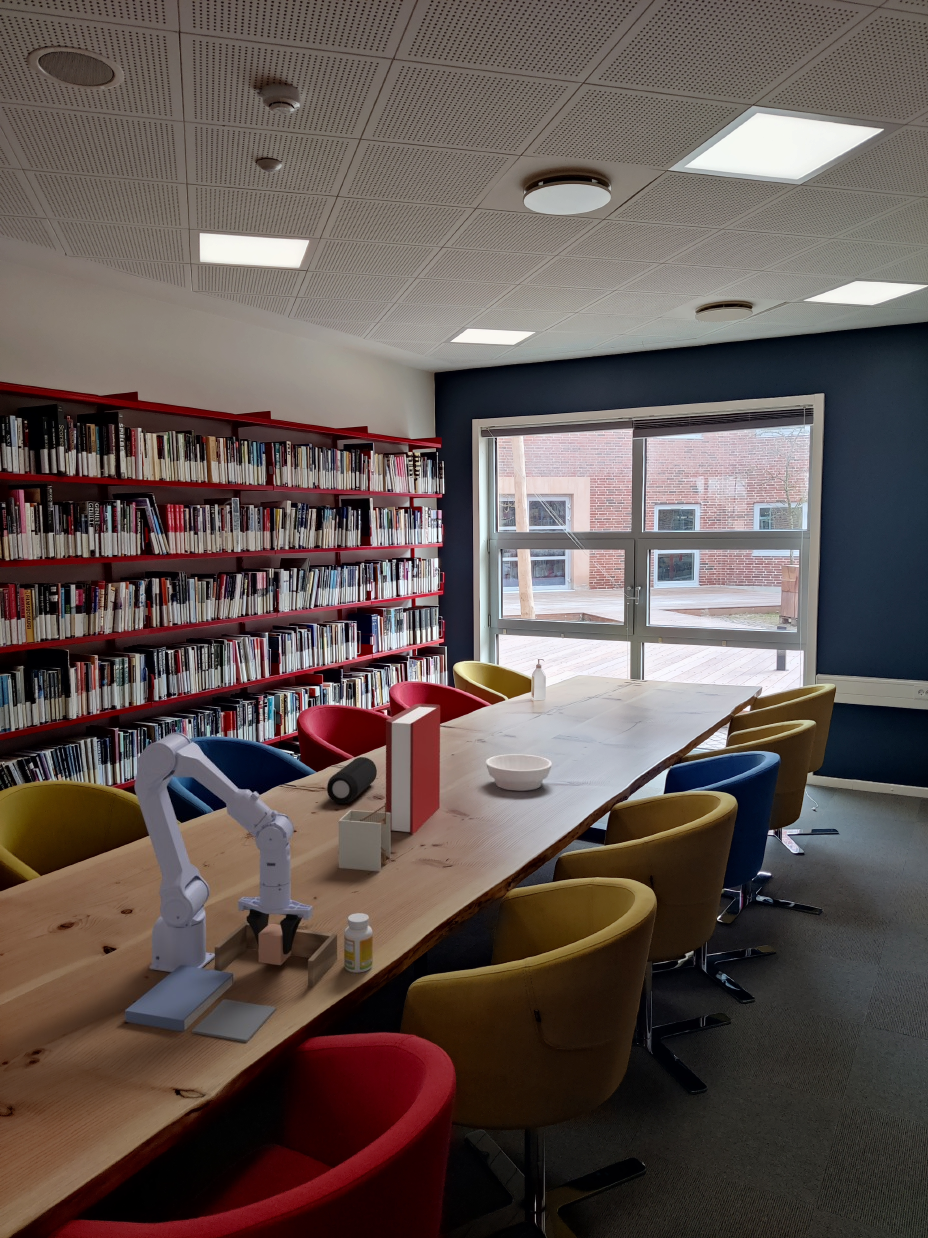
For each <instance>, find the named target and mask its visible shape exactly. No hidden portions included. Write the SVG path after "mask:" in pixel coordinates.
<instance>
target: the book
mask: <svg viewBox="0 0 928 1238" xmlns="http://www.w3.org/2000/svg"><path fill="white" fill-rule="evenodd" d="M440 760H441V705H440V704H432V703H416V704H413V705H412V706H410V707H408V708H406V709H404V710H402V711H401V712H399V713H397V714H395V715H394V716H391V717H390V718H388V719H386V720H385V802H386V813H390V832H391V831H397V832H405V833H410V834H411V835H412V836H414V835H415V833H416V832H418V830H419V829H421V827H422V826H423V825H424V824H425V823H426V822H427V821H428V820H429V819H430V818H431V817H432V816H433V815H434V814H435V813H436V812H438V810H439V809H440V800H441V799H440V794H441V793H440V788H441V787H440V786H441V785H440V783H441V781H440V780H441V778H440V777H441V775H440V774H441V761H440Z"/></svg>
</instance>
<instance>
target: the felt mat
mask: <svg viewBox="0 0 928 1238" xmlns="http://www.w3.org/2000/svg"><path fill="white" fill-rule="evenodd" d="M276 1011H277V1007H275V1006H269V1005H263V1004H258V1003H257V1004H256V1003H252V1002H251V1003H250V1002H243V1001H238V1000H232V999H226V998H225V999H223V1000H222V1001H221V1002H219V1004H218V1005H217V1006H216V1007H215V1008H214V1009H212V1011H210V1013H209V1014H208V1015H206V1016H205V1018H203V1019H202V1020H201V1021H200V1022H199V1023H198V1024H197V1025H196V1026H195V1027H194V1028H193V1029H192V1030H191V1031H192V1034H198V1035H203V1036H207V1037H208V1036H209V1037H212V1038H213V1037H216V1038H221V1039H226V1040H229V1041H231V1040H232V1041H237V1042H243V1043H248V1042H249V1041H250V1040H251V1039H252V1038H253V1037H254V1035H255V1034H256V1033H257V1032H258V1031H259V1030H260V1029H261V1028H262V1026H263V1025H264V1024H265V1023H266V1022H267V1021H268V1020H269V1018H270V1017H271V1016H272V1015H273V1014H274V1013H275V1012H276Z"/></svg>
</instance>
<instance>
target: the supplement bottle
mask: <svg viewBox="0 0 928 1238" xmlns="http://www.w3.org/2000/svg"><path fill="white" fill-rule="evenodd" d="M369 924H370V918H369V915H368V914H366V913H363V912H361V913H360V912H356V913H352V914H350V915H348V917H347V927H346V928H345V929H344V933H343V940H344V941H343V943H344V944H343V945H344V946H343V948H344V949H343V950H344V951H343V953H344V954H343V961H344V962H343V964H344V965H343V966H344V969H345V970H346V971H348V972H349V973H358V974H359V973H364V972H367V971H369V970H371V968H372V967H373V958H374V957H373V956H374V953H373V952H374V951H373V950H374V949H373V938H374V937H373V929H372V927H371V926H370V925H369Z"/></svg>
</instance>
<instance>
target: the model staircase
mask: <svg viewBox="0 0 928 1238" xmlns="http://www.w3.org/2000/svg"><path fill="white" fill-rule="evenodd" d="M383 809H384V811H381V810H383ZM390 860H391V831H390V813H386V801H384V805H382V806H381V807H379V808H378V809H376V810H375V811H370V810H358V809H357V810H356V809H355V810H354V809H350V810H348V811H347V812H346V813H345V814H344V815H343V816H342V817H340V819H338V868H340V869H349V870H350V869H351V870H360V871H361V870H362V871H372V872H381V871H382V870H381V868H382V866H386V865H387V864H388V862H389V861H390Z"/></svg>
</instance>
